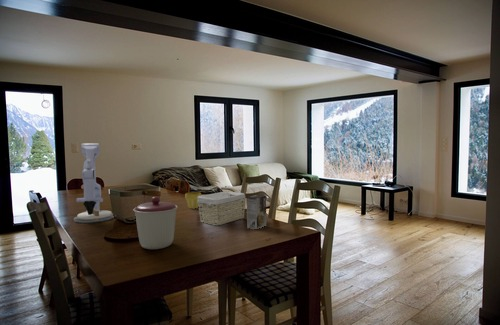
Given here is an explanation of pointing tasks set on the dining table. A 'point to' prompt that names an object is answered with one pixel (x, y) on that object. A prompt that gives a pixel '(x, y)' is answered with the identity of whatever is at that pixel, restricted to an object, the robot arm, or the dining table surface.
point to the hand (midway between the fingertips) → (90, 214)
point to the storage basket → (221, 207)
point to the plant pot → (192, 200)
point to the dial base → (93, 220)
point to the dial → (94, 215)
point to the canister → (155, 223)
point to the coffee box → (256, 211)
